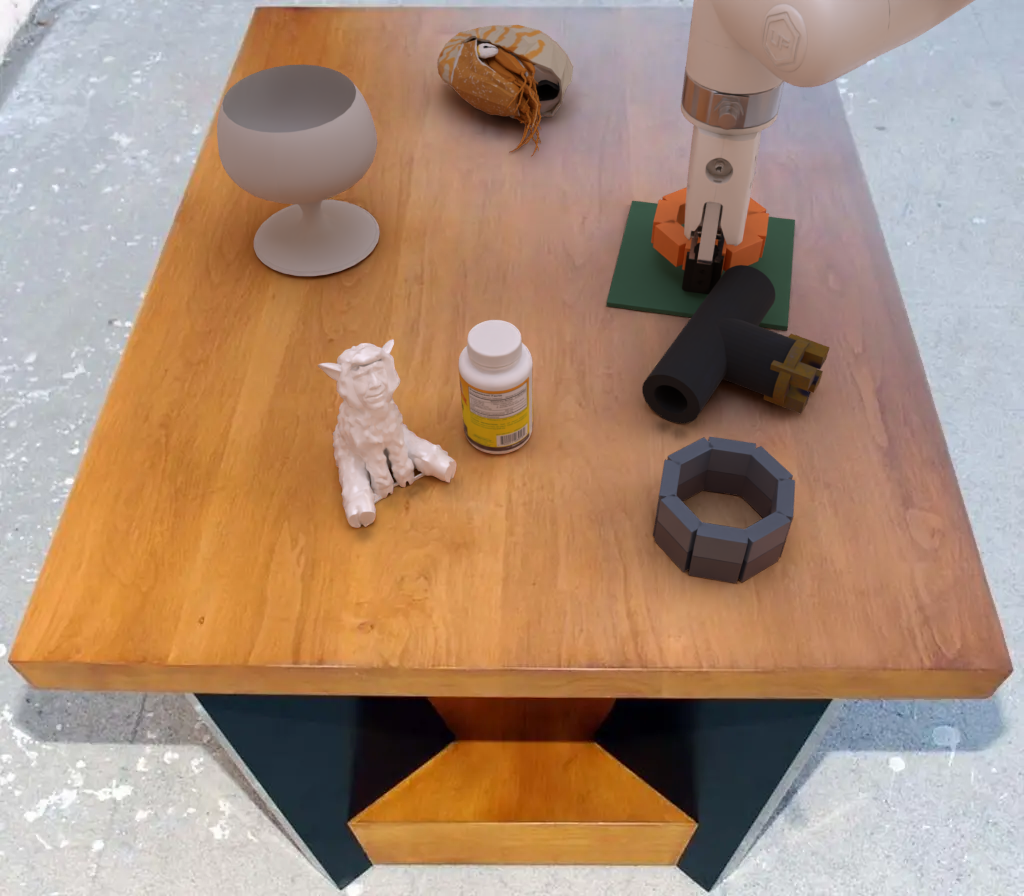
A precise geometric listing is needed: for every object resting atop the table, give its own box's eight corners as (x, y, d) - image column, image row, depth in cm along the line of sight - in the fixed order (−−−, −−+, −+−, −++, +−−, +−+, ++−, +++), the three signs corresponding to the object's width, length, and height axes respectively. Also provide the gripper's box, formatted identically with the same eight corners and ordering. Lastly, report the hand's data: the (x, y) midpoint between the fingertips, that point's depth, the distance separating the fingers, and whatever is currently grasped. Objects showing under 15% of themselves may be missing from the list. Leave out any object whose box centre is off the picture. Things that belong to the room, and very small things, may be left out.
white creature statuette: (355, 537, 74) (330, 425, 65) (299, 465, 79) (269, 352, 70) (461, 477, 77) (452, 364, 69) (402, 413, 82) (386, 299, 73)
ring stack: (784, 491, 76) (796, 449, 73) (778, 591, 70) (791, 550, 67) (663, 472, 78) (669, 429, 74) (647, 568, 72) (653, 527, 68)
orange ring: (767, 214, 95) (771, 192, 93) (758, 280, 88) (763, 258, 87) (661, 201, 96) (663, 179, 95) (645, 264, 90) (648, 243, 88)
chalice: (369, 292, 92) (347, 147, 81) (224, 279, 94) (182, 134, 83) (403, 203, 102) (387, 62, 90) (271, 193, 103) (239, 53, 92)
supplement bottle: (481, 399, 83) (476, 303, 75) (543, 418, 81) (544, 323, 74) (451, 445, 80) (443, 350, 72) (515, 466, 78) (513, 371, 70)
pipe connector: (855, 300, 82) (784, 419, 74) (841, 347, 86) (772, 465, 78) (724, 256, 86) (644, 364, 78) (717, 303, 90) (640, 410, 82)
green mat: (794, 223, 98) (795, 219, 98) (786, 330, 88) (788, 326, 88) (631, 204, 101) (632, 200, 101) (606, 306, 91) (606, 302, 90)
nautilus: (587, 168, 106) (445, 182, 106) (566, 57, 119) (440, 69, 119) (587, 102, 100) (436, 116, 100) (564, -7, 113) (432, 5, 113)
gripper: (775, 154, 72) (736, 345, 85) (786, 47, 82) (749, 233, 96) (670, 142, 73) (648, 333, 87) (693, 39, 83) (670, 224, 97)
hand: (701, 279), depth 91 cm, fingers closed on orange ring, 2 cm apart
